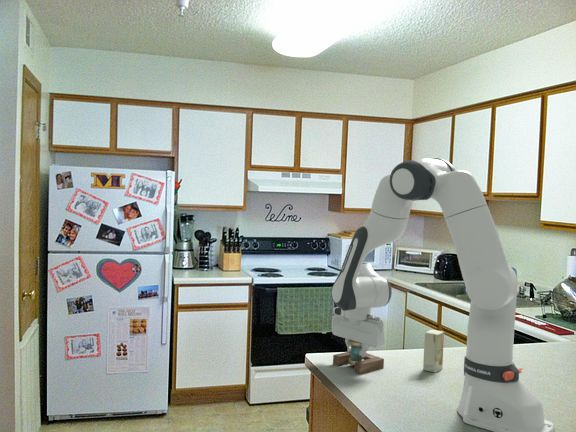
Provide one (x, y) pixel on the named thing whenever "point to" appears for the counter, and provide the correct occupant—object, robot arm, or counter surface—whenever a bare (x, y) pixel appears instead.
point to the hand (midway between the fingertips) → (356, 354)
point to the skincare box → (433, 350)
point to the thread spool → (355, 352)
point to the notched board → (360, 362)
